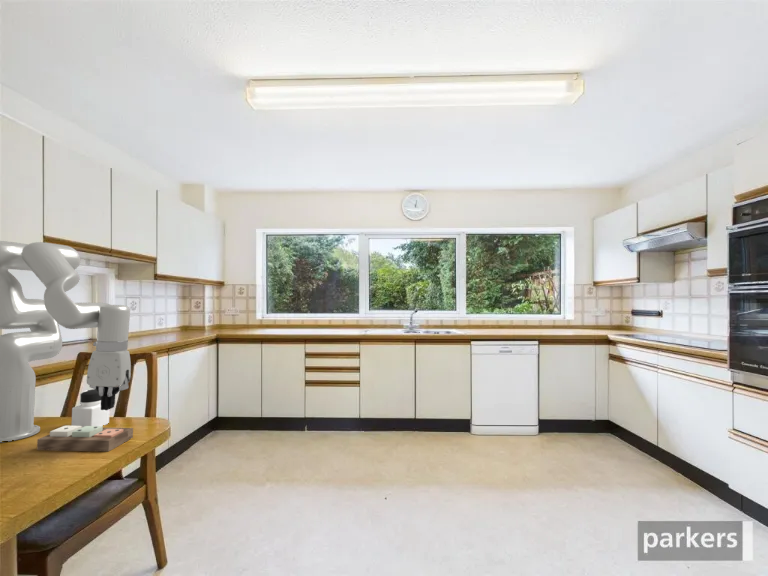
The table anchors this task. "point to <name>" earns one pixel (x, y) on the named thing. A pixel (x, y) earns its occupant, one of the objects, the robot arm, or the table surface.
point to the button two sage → (87, 431)
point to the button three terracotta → (109, 433)
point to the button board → (84, 442)
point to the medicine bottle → (89, 410)
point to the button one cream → (64, 431)
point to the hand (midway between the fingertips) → (107, 408)
